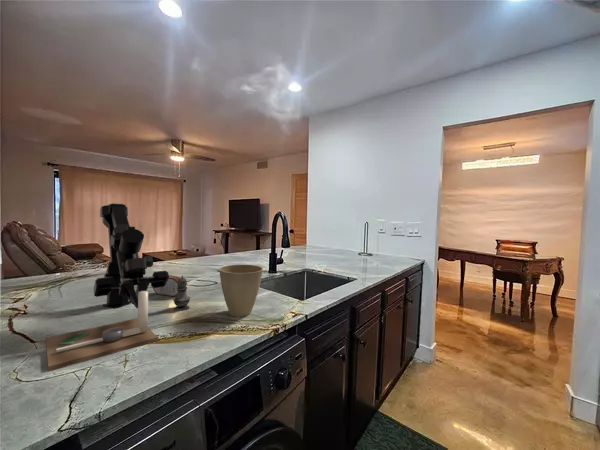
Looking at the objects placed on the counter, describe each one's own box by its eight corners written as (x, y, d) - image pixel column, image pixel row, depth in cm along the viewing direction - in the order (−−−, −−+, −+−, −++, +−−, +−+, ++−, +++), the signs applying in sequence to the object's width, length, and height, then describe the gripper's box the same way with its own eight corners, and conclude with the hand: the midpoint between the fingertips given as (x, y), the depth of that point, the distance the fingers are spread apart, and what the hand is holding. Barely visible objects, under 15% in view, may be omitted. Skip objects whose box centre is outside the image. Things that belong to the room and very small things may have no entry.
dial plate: (138, 320, 86) (139, 317, 86) (157, 340, 73) (157, 336, 73) (45, 341, 70) (45, 336, 70) (48, 371, 58) (48, 365, 58)
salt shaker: (183, 311, 95) (184, 277, 94) (169, 310, 96) (169, 276, 96) (193, 306, 100) (194, 274, 100) (179, 304, 102) (180, 273, 101)
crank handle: (145, 327, 78) (145, 289, 78) (149, 332, 75) (150, 293, 74) (55, 348, 65) (55, 303, 64) (56, 355, 61) (57, 308, 61)
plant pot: (210, 312, 95) (211, 267, 94) (245, 303, 106) (246, 263, 105) (234, 325, 85) (235, 274, 84) (270, 313, 96) (271, 269, 95)
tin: (184, 296, 112) (185, 276, 112) (179, 298, 109) (179, 278, 109) (156, 292, 117) (157, 272, 117) (150, 294, 114) (150, 274, 114)
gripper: (95, 249, 74) (102, 298, 66) (167, 245, 87) (180, 286, 79) (91, 273, 80) (97, 320, 72) (159, 266, 93) (170, 306, 85)
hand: (138, 307), depth 77 cm, fingers closed
